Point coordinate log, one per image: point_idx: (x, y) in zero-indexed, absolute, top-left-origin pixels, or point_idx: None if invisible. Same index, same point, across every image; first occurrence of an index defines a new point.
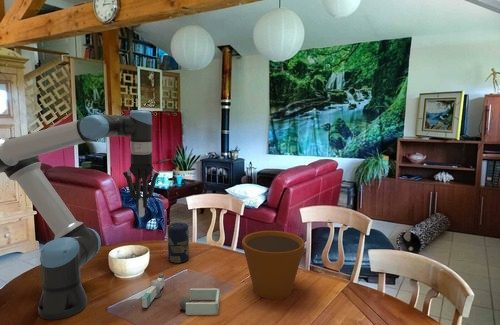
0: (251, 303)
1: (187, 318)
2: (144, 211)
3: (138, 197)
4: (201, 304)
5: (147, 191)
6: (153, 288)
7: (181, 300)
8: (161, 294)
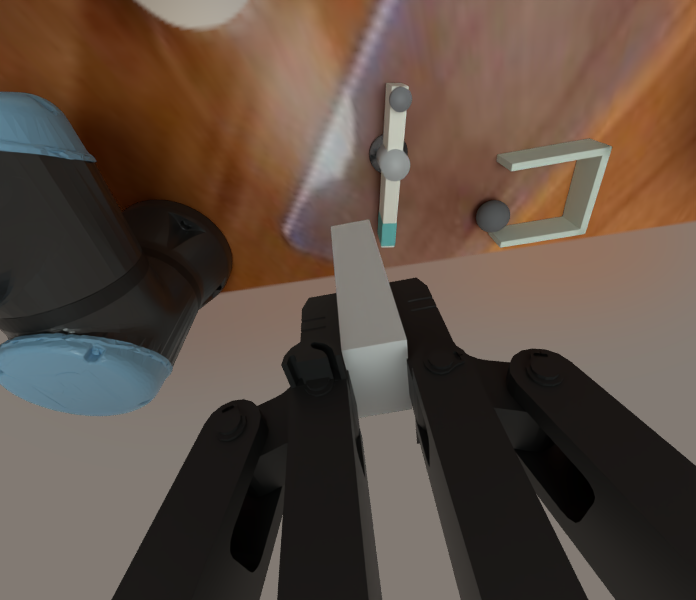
0: (678, 150)
1: (492, 245)
2: (374, 241)
3: (357, 444)
4: (540, 240)
5: (513, 454)
6: (396, 194)
7: (486, 224)
8: (407, 151)
